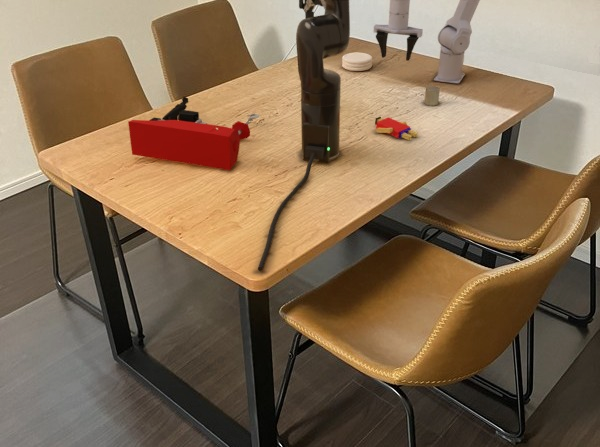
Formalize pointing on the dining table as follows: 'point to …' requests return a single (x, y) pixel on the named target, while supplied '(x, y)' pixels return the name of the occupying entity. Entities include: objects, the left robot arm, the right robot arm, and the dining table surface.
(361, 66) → the white ridged disc
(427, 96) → the canister
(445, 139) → the dining table surface
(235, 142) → the electric hoist
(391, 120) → the toy figure
